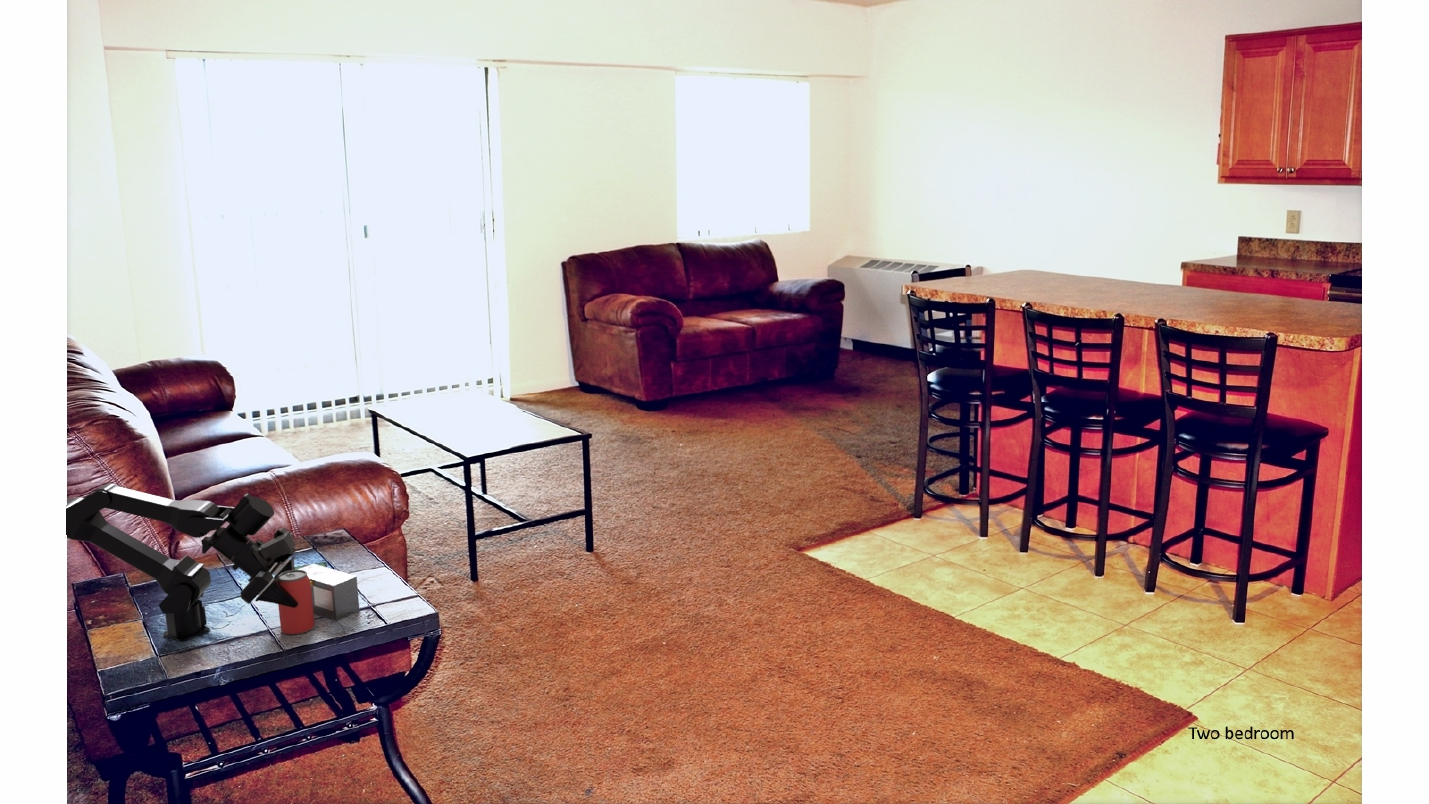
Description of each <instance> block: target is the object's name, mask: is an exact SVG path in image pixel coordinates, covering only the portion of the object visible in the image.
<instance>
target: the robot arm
mask: <svg viewBox="0 0 1429 804" xmlns="http://www.w3.org/2000/svg"><path fill="white" fill-rule="evenodd" d="M66 501H67V505H66V535H67V539H69V540H73V541H79V542H87V543H89V544H92V545H94V546H95V547H96V546H97V547H98V548H100V549H102V550H104V551H105V552H107V553H109V554H110V555H111V556H114V557H115V558H117V559H119V560H120V561H123V562H124V563H126V564H128V565H130V566H131V567H133V568H135V569H137V570H138V571H140V572H142V573H144V574H145V575H147V576H149V577H151V578H153V579H154V580H155V582H157V584H158V586H160V588H161V590H162V591H163V593H165V594H166V597H164V598H163V599H162V600H161V601H160V603H159V604H158V607H159V609H160V610H161V612H162V614H163V615H165V621H166V622H165V624H166V630H165V631H163V636H165V637H168V638H171V639H173V640H175V641H178V642H186V641H187V640H190V639H192V638H194V637H196V636H199V635H202V634H204V633H207V632H209V631H210V630H211V628H210V626H207V624H208V623H207V613H206V607H205V606H204V605H203V601H202V600H201V598H203V596H204V593H205V592H206V590H207V589H208V588H209V587H210V585H211V583H212V577H211V573H210V571H209V570H208V569H207V568H206V567H205V564H204V563H202V562H201V563H200V562H198V561H196V560H194V559H193V558H192V557H191V556H190V555H185V556H183V557H182V558H181V559H173V558H171V557H169V556H167V555H165V554H163V553H162V552H160V551H158V550H156V549H155V548H153V547H151V546H149V545H147V544H146V543H144V542H142V541H141V540H139V539H137V538H135V537H134V536H132V535H130V534H128V533H127V532H125V531H123V530H121V529H120V528H118V527H116V526H114V525H113V524H111V523H109V522H108V521H107V520H106V519H105V517H104V515H103V514H102V512H101V511H102V510H104V509H109V510H112V511H117V512H122V513H125V514H129V515H134V516H137V517H142V518H145V519H149V520H154V521H158V522H161V523H165V524H167V525H169V526H170V527H172V528H173V529H174V530H175V531H177V532H179V533H182V534H185V536H186V535H187V536H189V537H191V538H195V539H196V538H197V539H198V538H202V539H201V540H200V543H201V553H202V554H206V553H207V552H209V551H210V550H211V549H212V548H213V549H214V550H216V551H217V552H218V553H219V554H220V555H222V556H223V557H224V558H226V559H227V560H228V561H229V562H231V563H232V564H233V565H232V566H231V569H233V571H235V572H236V571H237V570H238V569H240V570H241V571H242V572H243V573H244V574H246V575H247V576H248V577H249V579H248V580H247V581H248V583H247V584H246V585H245V586H244V588H242V590H241V591H240V599H241V600H243V601H244V602H245V603H246V604H248V605H250V604H251V603H252V602H253V601H255V602H266V603H271V604H276V605H278V604H280V605H284V606H289V607H293V608H295V607H297V605H298V602H297V601H296V600H295V599H294V598H293V597H292V596H291V595H290V594H289V593H288V592H287V591H286V590H285V589H284V588H283V587H282V586H281V585H280V579H279V575H280V574H281V573H283V572H286V571H290V570H295V568H294V567H295V559H296V556H295V555H294V554H295V552H296V551H297V549H296V548H295V547H296V546H297V544H296V542H295V541H294V539H293V538H294V537H295V535H294V533H291V532H290V530H287V529H285V528H284V527H281V528H279V529H277V530H276V531H275V532H274V533H273V538H271V539H270V540H269V541H266V542H264V541H263V540H261V539H256V541H254V540H253V539H251V538H250V536H255V535H256V534H257V533H259V531H260V530H261V529H262V528H263V527H265V525H266V524H267V523H268V522H269V521H270V520H271V519H272V518H273V516H275V509H274V508H273V506H272V505H271V504H270V503H269V502H268V501H267V500H266V499H262V498H260V497H258V496H252V495H251V494H250V493H249V492H248V493H245V494H244V495H243V496H242V497H241V499H240V500H239V501H238V502H237V504H236V505H235V506H234V507H233V506H226V505H225V506H224V505H218V504H216V503H215V502H212V501H210V500H201V499H200V500H199V499H184V500H175V499H171V498H167V497H162V496H159V495H154V494H150V493H146V492H142V491H138V490H134V489H131V488H126V487H122V486H119V485H117V484H115V483H105V484H104V485H102V486H101V487H99V488H97V489H95V490H94V491H92V492H91V493H89V494H87V495H85V496H84V497H81V496H76V497H72V498H69V499H67V500H66ZM226 523H229V524H228V525H227V526H226V527H223V526H224V525H225V524H226ZM212 531H214V532H213V533H212V534H211V535H210V536H206V535H208V534H209V533H210V532H212ZM290 557H291V558H290ZM273 575H274V576H273ZM254 599H255V600H254Z"/></svg>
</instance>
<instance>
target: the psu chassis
mask: <svg viewBox="0 0 1429 804" xmlns="http://www.w3.org/2000/svg"><path fill="white" fill-rule="evenodd" d="M309 564H310V565H308V566H305V567H303V568H300V569H298V570H304V571H306V572H307V576H308V577H309V579H310V583H311V592H312V602H313V612H314V615H315V616H319V617H322V618H326V619H328V620H332V621H335V622H339V621H342V620H343V619H345V618H347V617H350V616H352V615H354V614H357V613H359V612H360V611H361V610H360V600H359V599H360V598H359V589H358V578H357V575H353V574H350V573H347V572H343V571H340V570H336V569H333V568H330V567H328V566H327V567H323V566H320V565H317V564H315V563H309Z"/></svg>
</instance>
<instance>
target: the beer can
mask: <svg viewBox="0 0 1429 804" xmlns="http://www.w3.org/2000/svg"><path fill="white" fill-rule="evenodd" d="M279 579H280V585H281V586H282V587H283V588H284V589H285V590H286V591H287V592H288V593H289V594H290V595H291V596H292V597H293V598H294V599H295V600H296V601H297V602H298V605H297V607H295V608H293V607H289V606H284V605H280V604H277V605H278V606H277V607H278V613H279V614H278V615H279V623H280V624H279V626H280V631H281V632H282V633H284V634H286V635H289V636H293V635H302V634H305V633H307V632H309V631H311V630H312V629H313V628H314V626H315V624H316V622H315V614H314V612H313V602H312V592H311V583H310V579H309V577H308V576H307V572H306V571H304V570H290V571H286V572H283V573H281V574H280V575H279Z"/></svg>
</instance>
